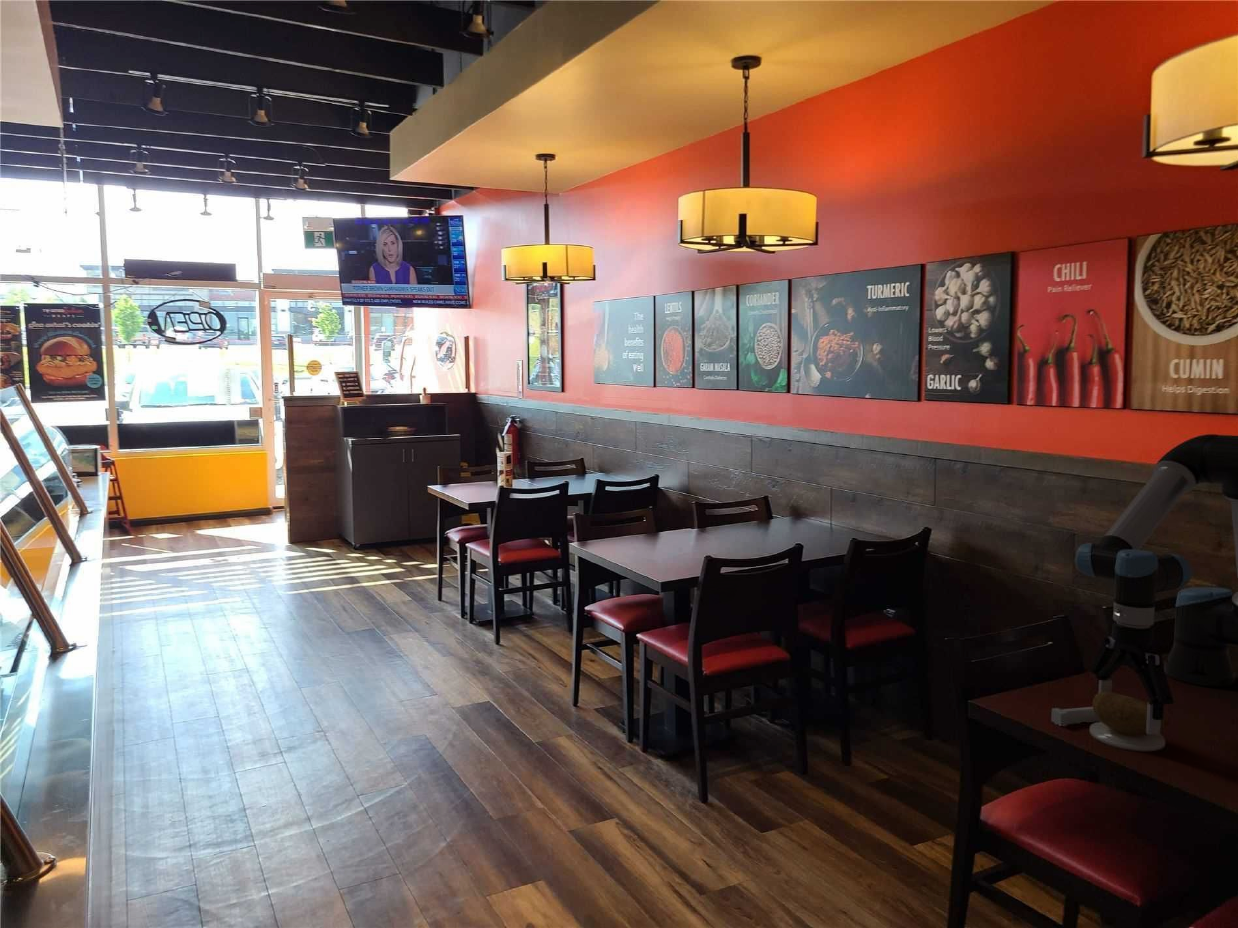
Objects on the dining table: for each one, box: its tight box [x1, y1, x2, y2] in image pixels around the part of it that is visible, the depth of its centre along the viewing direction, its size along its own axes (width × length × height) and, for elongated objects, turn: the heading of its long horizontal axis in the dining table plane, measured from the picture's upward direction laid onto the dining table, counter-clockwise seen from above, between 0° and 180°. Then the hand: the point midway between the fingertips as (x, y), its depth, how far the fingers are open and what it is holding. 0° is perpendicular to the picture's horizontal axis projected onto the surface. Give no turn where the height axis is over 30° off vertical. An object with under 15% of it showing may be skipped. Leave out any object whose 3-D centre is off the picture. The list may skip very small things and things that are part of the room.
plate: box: [1089, 721, 1166, 752], centre depth 187 cm, size 14×14×1 cm
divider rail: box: [1050, 706, 1101, 727], centre depth 196 cm, size 24×3×3 cm, turn 101°
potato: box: [1091, 692, 1168, 736], centre depth 186 cm, size 10×14×8 cm
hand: (1127, 720), depth 186 cm, fingers open, 13 cm apart
